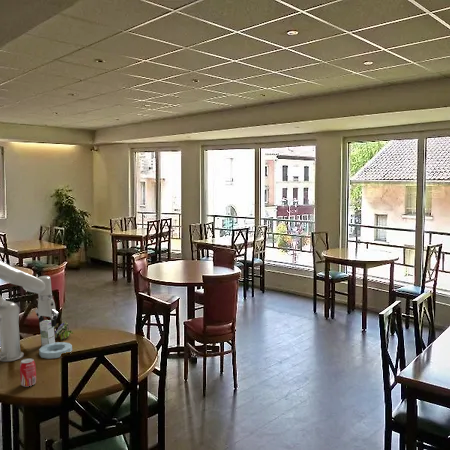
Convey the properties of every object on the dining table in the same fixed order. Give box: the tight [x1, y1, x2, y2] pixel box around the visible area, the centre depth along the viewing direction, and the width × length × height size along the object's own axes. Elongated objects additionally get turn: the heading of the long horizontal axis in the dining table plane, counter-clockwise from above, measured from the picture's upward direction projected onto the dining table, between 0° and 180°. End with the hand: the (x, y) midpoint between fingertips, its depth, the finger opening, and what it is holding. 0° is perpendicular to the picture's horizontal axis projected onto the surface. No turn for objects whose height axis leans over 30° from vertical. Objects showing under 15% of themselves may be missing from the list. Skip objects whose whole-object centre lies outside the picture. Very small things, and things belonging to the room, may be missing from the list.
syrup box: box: [39, 319, 56, 347], centre depth 283 cm, size 6×6×14 cm
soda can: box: [19, 357, 37, 388], centre depth 229 cm, size 7×7×12 cm
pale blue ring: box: [38, 341, 73, 360], centre depth 270 cm, size 17×17×3 cm
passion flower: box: [54, 321, 74, 341], centre depth 296 cm, size 11×11×12 cm
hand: (47, 325), depth 283 cm, fingers open, 9 cm apart
